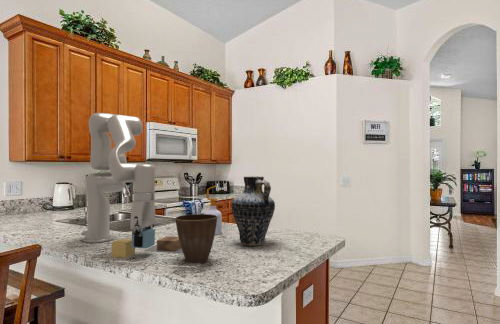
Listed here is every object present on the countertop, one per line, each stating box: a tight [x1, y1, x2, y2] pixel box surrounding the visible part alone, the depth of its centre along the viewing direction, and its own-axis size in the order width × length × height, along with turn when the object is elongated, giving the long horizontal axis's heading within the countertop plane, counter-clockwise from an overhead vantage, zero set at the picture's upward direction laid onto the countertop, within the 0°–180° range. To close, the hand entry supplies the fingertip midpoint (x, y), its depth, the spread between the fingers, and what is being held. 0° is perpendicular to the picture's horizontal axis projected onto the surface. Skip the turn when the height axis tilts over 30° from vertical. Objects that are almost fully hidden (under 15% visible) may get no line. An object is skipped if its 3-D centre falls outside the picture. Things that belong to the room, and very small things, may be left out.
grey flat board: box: [143, 244, 183, 254], centre depth 132 cm, size 18×12×1 cm, turn 76°
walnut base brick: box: [156, 235, 181, 251], centre depth 132 cm, size 8×8×4 cm
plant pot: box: [174, 213, 217, 265], centre depth 116 cm, size 15×15×16 cm
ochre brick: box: [111, 238, 136, 258], centre depth 123 cm, size 6×6×6 cm
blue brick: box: [131, 228, 156, 250], centre depth 122 cm, size 6×6×6 cm
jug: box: [230, 175, 276, 246], centre depth 143 cm, size 21×19×30 cm
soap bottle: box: [204, 185, 223, 236], centre depth 166 cm, size 9×9×25 cm
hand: (143, 244), depth 122 cm, fingers closed on blue brick, 6 cm apart
